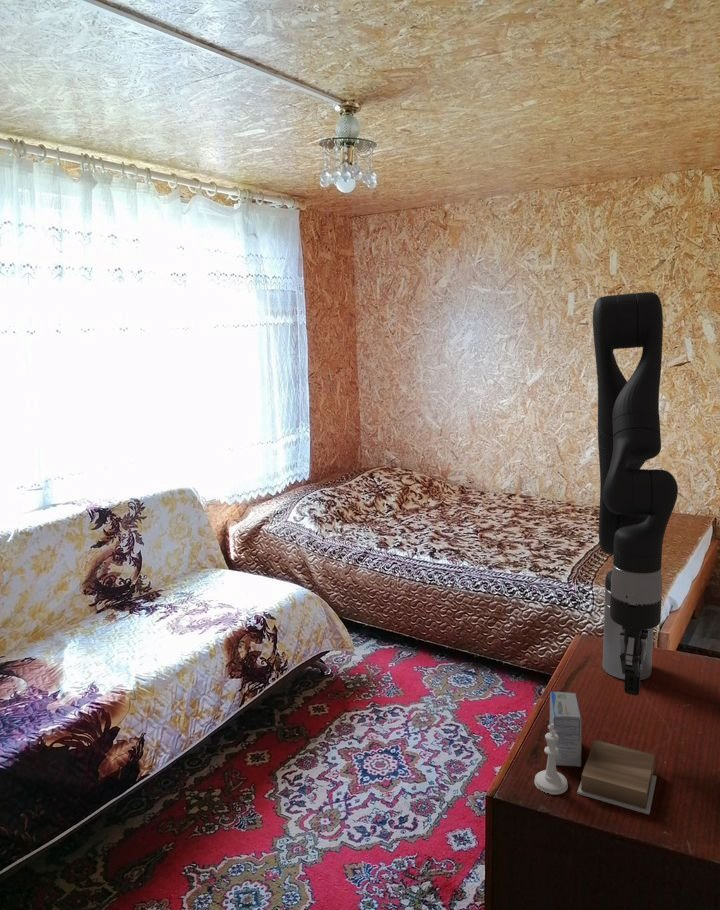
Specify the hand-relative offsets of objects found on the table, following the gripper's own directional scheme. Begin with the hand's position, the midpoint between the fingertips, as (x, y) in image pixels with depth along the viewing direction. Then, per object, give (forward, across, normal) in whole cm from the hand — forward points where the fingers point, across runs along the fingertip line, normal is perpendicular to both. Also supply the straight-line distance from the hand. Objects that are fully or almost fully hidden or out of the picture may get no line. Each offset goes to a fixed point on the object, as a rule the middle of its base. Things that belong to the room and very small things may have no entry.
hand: (632, 692), depth 111 cm
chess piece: (+10, +16, -9) cm, 21 cm away
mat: (+9, +12, 0) cm, 15 cm away
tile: (+8, +6, 0) cm, 10 cm away
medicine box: (+10, +6, -9) cm, 15 cm away
